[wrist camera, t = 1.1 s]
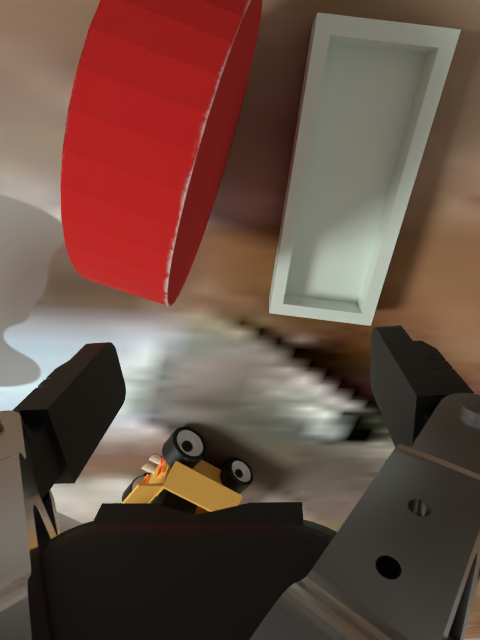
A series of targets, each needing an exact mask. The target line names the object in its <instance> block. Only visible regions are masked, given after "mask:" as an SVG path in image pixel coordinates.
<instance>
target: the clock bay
mask: <svg viewBox="0 0 480 640" xmlns="http://www.w3.org/2000/svg"><path fill="white" fill-rule="evenodd" d="M460 31H461V29H453V28H445V27H436V26H428V25H419V24H411V23H402V22H394V21H386V20H377V19H369V18H360V17H352V16H343V15H335V14H326V13H317V15H316V17H315V19H314V22H313V24H312V30H311V36H310V43H309V49H308V55H307V62H306V68H305V74H304V81H303V87H302V94H301V100H300V106H299V113H298V119H297V125H296V132H295V138H294V145H293V151H292V157H291V164H290V170H289V176H288V183H287V189H286V195H285V202H284V208H283V215H282V221H281V227H280V234H279V240H278V246H277V253H276V259H275V266H274V272H273V278H272V285H271V291H270V297H269V313H273V314H281V315H289V316H297V317H305V318H313V319H321V320H329V321H337V322H345V323H353V324H361V325H369V326H371V323H372V320H373V316H374V313H375V310H376V307H377V303H378V300H379V297H380V294H381V290H382V287H383V284H384V280H385V277H386V274H387V271H388V267H389V264H390V261H391V258H392V254H393V251H394V248H395V244H396V241H397V238H398V235H399V231H400V228H401V225H402V221H403V218H404V215H405V212H406V208H407V205H408V202H409V199H410V195H411V192H412V189H413V185H414V182H415V179H416V176H417V172H418V169H419V166H420V163H421V159H422V156H423V153H424V149H425V146H426V143H427V140H428V136H429V133H430V130H431V126H432V123H433V120H434V117H435V113H436V110H437V107H438V104H439V100H440V97H441V94H442V90H443V87H444V84H445V81H446V77H447V74H448V71H449V68H450V64H451V61H452V58H453V54H454V51H455V48H456V45H457V41H458V38H459V35H460Z"/></svg>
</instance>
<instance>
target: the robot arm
mask: <svg viewBox="0 0 480 640" xmlns="http://www.w3.org/2000/svg"><path fill="white" fill-rule="evenodd" d="M370 378H371V387H372V391H373V395H374V397H375V400H376V402H377V404H378V407H379V409H380V412H381V414H382V416H383V419H384V421H385V424H386V426H387V428H388V431H389V433H390V435H391V438H392V440H393V443H394V445H395V447H396V448H395V449H394V450H393V452H392V453H391V455H390V456H389V458H388V459H387V461H386V462H385V464H384V465H383V466H382V468H381V469H380V471H379V472H378V474H377V475H376V477H375V478H374V480H373V481H372V482H371V484H370V485H369V487H368V488H367V490H366V491H365V493H364V494H363V496H362V497H361V499H360V500H359V501H358V503H357V504H356V506H355V507H354V509H353V510H352V512H351V513H350V515H349V516H348V517H347V519H346V520H345V522H344V523H343V525H342V526H341V528H340V529H339V531H338V532H336V531H334V530H332V529H330V528H328V527H325V526H323V525H320V524H317V523H314V522H311V521H307V520H303V511H302V502H268V503H246V504H242V505H238V506H233V507H229V508H225V509H220V510H216V511H212V512H207V513H203V514H190V513H186V512H182V511H178V510H174V509H170V508H166V507H162V506H158V505H154V504H150V503H112V504H102V505H101V507H100V509H99V511H98V513H97V515H96V517H95V519H94V521H92V522H88V523H85V524H82V525H79V526H76V527H74V528H72V529H69V530H67V531H65V532H63V533H61V532H60V527H59V521H58V517H57V512H56V507H55V502H54V498H53V495H52V493H51V490H50V489H51V487H52V486H53V484H60V483H75V481H76V480H77V478H78V476H79V475H80V473H81V471H82V470H83V468H84V467H85V465H86V463H87V462H88V460H89V458H90V457H91V455H92V454H93V452H94V450H95V449H96V447H97V446H98V444H99V442H100V441H101V439H102V437H103V436H104V434H105V433H106V431H107V429H108V428H109V426H110V424H111V423H112V421H113V420H114V418H115V416H116V415H117V413H118V412H119V410H120V408H121V407H122V405H123V403H124V400H125V395H126V387H125V382H124V378H123V375H122V371H121V367H120V363H119V359H118V355H117V352H116V348H115V346H114V345H113V344H112V343H110V342H108V343H92V344H86V345H85V346H84V347H83V348H82V349H81V350H80V351H79V352H78V353H77V354H76V355H74V356H73V357H72V358H71V359H70V360H69V361H68V362H66V363H64V364H63V365H61V366H59V367H58V368H56V369H55V370H54V371H53V372H52V373H51V374H50V375H49V376H48V377H47V379H46V380H44V381H43V382H42V383H41V384H39V385H38V388H35V389H34V390H33V391H32V392H31V393H30V394H29V395H28V396H27V397H26V398H25V399H24V400H23V401H22V402H21V403H20V404H19V405H18V406H17V407H16V408H15V409H13V410H12V411H0V640H463V639H464V635H465V632H466V628H467V624H468V620H469V616H470V612H471V609H472V605H473V601H474V598H475V594H476V591H477V588H478V584H479V581H480V395H479V394H475V393H474V392H473V391H472V390H471V389H470V388H469V386H468V385H467V384H466V383H465V382H464V381H463V379H462V378H461V377H460V376H459V375H458V374H457V372H456V371H455V370H454V369H452V366H451V365H450V364H449V363H448V362H447V361H445V358H444V357H443V356H442V355H441V354H440V352H439V351H438V350H437V349H436V348H434V347H432V346H430V345H429V344H427V343H425V342H423V341H412V339H411V338H410V337H409V335H408V334H407V333H406V331H405V330H404V329H403V327H402V326H400V325H399V326H383V327H374V328H373V330H372V339H371V370H370Z"/></svg>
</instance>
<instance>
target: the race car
mask: <svg viewBox="0 0 480 640" xmlns="http://www.w3.org/2000/svg"><path fill="white" fill-rule="evenodd" d="M162 453H163V458H161V457H160V456H158V455H157V454H154V455H153V456H151V457H150V459H149V460H150V461H152V462H154V463H156V464H158V465H157V466H156V467H154V466H153V465H151V464H149V463H146V464H145V465H144V466H143V467H142V468H141V469H143V470H145V471H147V472H149V473H150V475H149V474H147V476H139V477H137V478H136V479H134V480H133V482H132V483H131V484H130V485H129V486H128V488H127V489H126V490H125V491H124V493H123V496H122V503H150V504H154V505H158V506H162V507H166V508H170V509H174V510H178V511H182V512H186V513H190V514H203V513H207V512H212V511H216V510H220V509H225V508H229V507H233V506H238V505H239V504H240V501H241V499H242V497H243V496H242V495H240V494H239V493H241V492H242V491H243V490H245V489H246V488H247V487H248V486H249V485H250V484H251V483H252V481H253V474H252V471H251V469H250V467H249V466H248V464H247V463H245V462H244V461H242V460H240V459H238V458H234V459H232V460H230V462H229V463H228V464H227V465H226V466H225V467H224V468H223V469H222V470H220V469H218V468H216V467H214V466H213V465H211V464H209V463H207V462H205V461H203V460H202V458H203V457H204V456H205V453H206V445H205V442H204V440H203V438H202V437H201V436H200V434H199V433H197V432H196V431H194V430H192V429H190V428H188V427H180V428H178V429H176V430H175V431H174V433H173V434H172V435H171V436H170V437H169V439H168V440H167V441H166V442H165V444H164V445H163V449H162Z"/></svg>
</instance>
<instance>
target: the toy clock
mask: <svg viewBox="0 0 480 640" xmlns="http://www.w3.org/2000/svg"><path fill="white" fill-rule="evenodd" d="M261 10H262V0H101V1H100V3H99V5H98V8H97V10H96V13H95V15H94V18H93V20H92V22H91V25H90V27H89V30H88V34H87V37H86V40H85V44H84V47H83V50H82V54H81V57H80V60H79V64H78V67H77V72H76V76H75V81H74V85H73V90H72V94H71V99H70V104H69V108H68V115H67V122H66V129H65V137H64V144H63V153H62V172H61V217H62V225H63V231H64V238H65V244H66V247H67V251H68V254H69V257H70V260H71V263H72V264H73V266H74V268H75V269H76V271H77V272H78V274H80V275H81V276H82V277H84V278H85V279H87V280H90V281H94V282H97V283H100V284H103V285H106V286H109V287H112V288H115V289H118V290H121V291H124V292H127V293H130V294H133V295H136V296H139V297H142V298H145V299H148V300H151V301H154V302H158V303H161V304H164V305H167V306H172V304H173V303H174V302H175V301H176V299H177V297H178V295H179V294H180V292H181V290H182V288H183V285H184V283H185V281H186V279H187V276H188V274H189V272H190V269H191V267H192V264H193V261H194V259H195V256H196V254H197V251H198V248H199V245H200V243H201V240H202V237H203V234H204V231H205V228H206V225H207V222H208V220H209V217H210V214H211V210H212V207H213V204H214V201H215V198H216V195H217V192H218V188H219V185H220V182H221V179H222V175H223V172H224V169H225V165H226V162H227V159H228V155H229V152H230V148H231V145H232V141H233V137H234V134H235V130H236V126H237V123H238V119H239V115H240V111H241V107H242V103H243V100H244V95H245V91H246V87H247V83H248V79H249V75H250V70H251V66H252V61H253V57H254V52H255V47H256V42H257V36H258V31H259V25H260V17H261Z"/></svg>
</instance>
